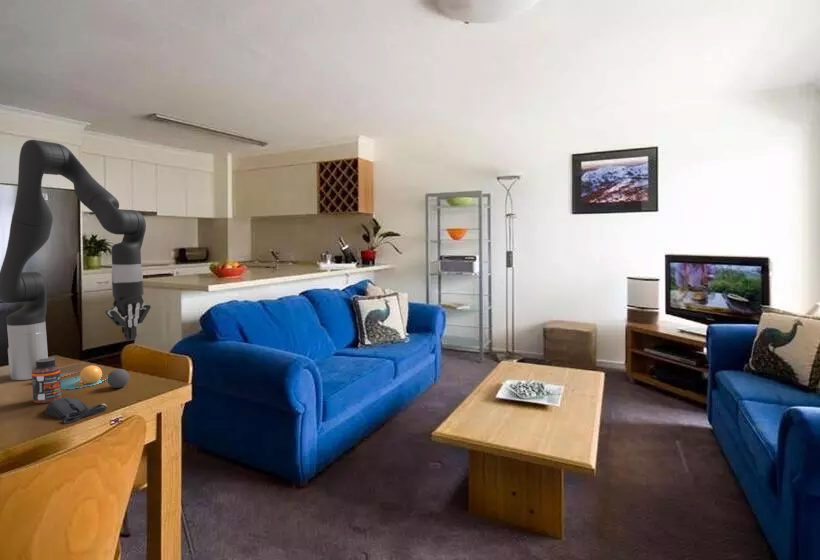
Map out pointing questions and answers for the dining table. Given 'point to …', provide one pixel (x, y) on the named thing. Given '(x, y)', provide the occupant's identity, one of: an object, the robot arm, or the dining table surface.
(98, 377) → the orange ball
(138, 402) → the dining table surface
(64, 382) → the teal mark
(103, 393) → the dining table surface
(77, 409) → the computer mouse
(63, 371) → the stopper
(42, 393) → the supplement bottle
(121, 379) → the grey ball
